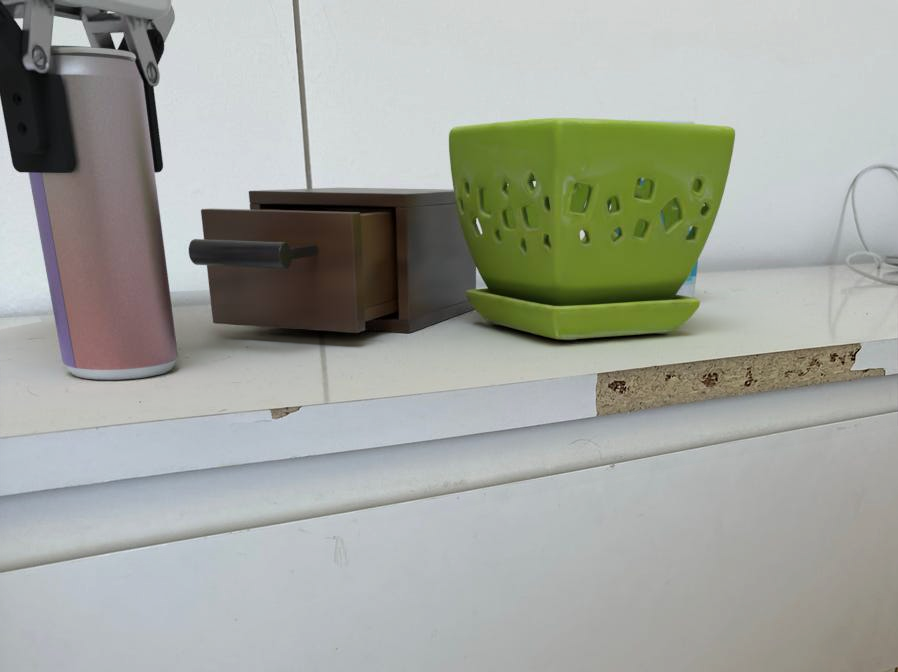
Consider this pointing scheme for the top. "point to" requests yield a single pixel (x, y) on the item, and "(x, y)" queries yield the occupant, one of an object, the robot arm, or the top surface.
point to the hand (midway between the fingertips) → (92, 168)
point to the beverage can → (106, 225)
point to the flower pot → (587, 220)
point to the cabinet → (405, 248)
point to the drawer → (300, 266)
